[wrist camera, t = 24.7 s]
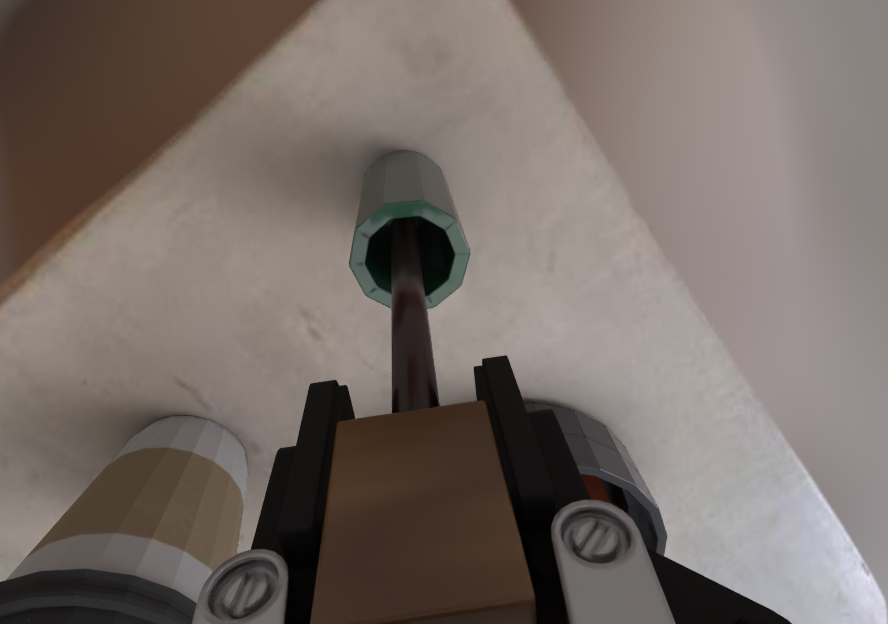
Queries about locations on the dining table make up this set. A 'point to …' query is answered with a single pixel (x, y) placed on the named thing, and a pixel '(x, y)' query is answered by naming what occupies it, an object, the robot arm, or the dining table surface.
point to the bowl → (611, 471)
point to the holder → (437, 223)
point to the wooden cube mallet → (419, 495)
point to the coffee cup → (138, 533)
